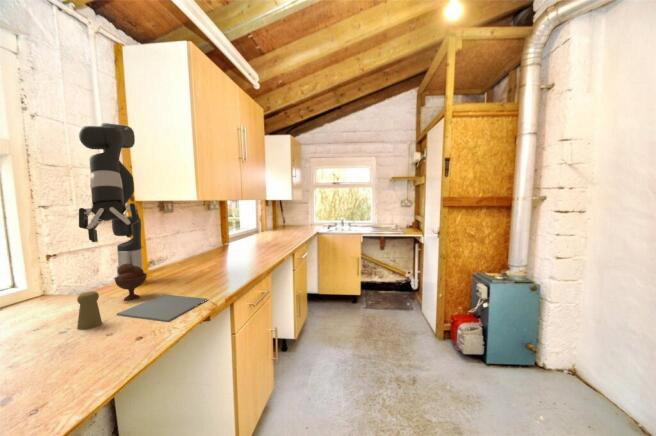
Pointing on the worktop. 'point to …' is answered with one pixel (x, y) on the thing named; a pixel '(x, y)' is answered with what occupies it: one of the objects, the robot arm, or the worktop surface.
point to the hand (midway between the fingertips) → (112, 239)
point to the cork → (88, 311)
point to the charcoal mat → (162, 307)
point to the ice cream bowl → (130, 279)
